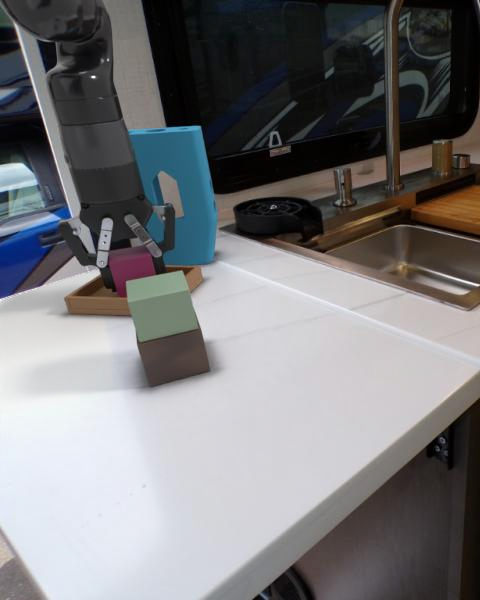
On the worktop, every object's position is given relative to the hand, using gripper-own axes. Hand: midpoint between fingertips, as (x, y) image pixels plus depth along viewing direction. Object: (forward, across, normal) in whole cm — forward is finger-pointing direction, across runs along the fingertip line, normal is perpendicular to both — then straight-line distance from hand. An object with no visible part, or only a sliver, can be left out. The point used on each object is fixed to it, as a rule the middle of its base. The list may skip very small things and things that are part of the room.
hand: (137, 284), depth 71 cm
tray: (+2, 0, 0) cm, 2 cm away
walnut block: (+2, -2, +21) cm, 21 cm away
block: (+2, -7, -11) cm, 13 cm away
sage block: (-3, -3, +21) cm, 22 cm away
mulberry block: (+1, 0, 0) cm, 1 cm away
